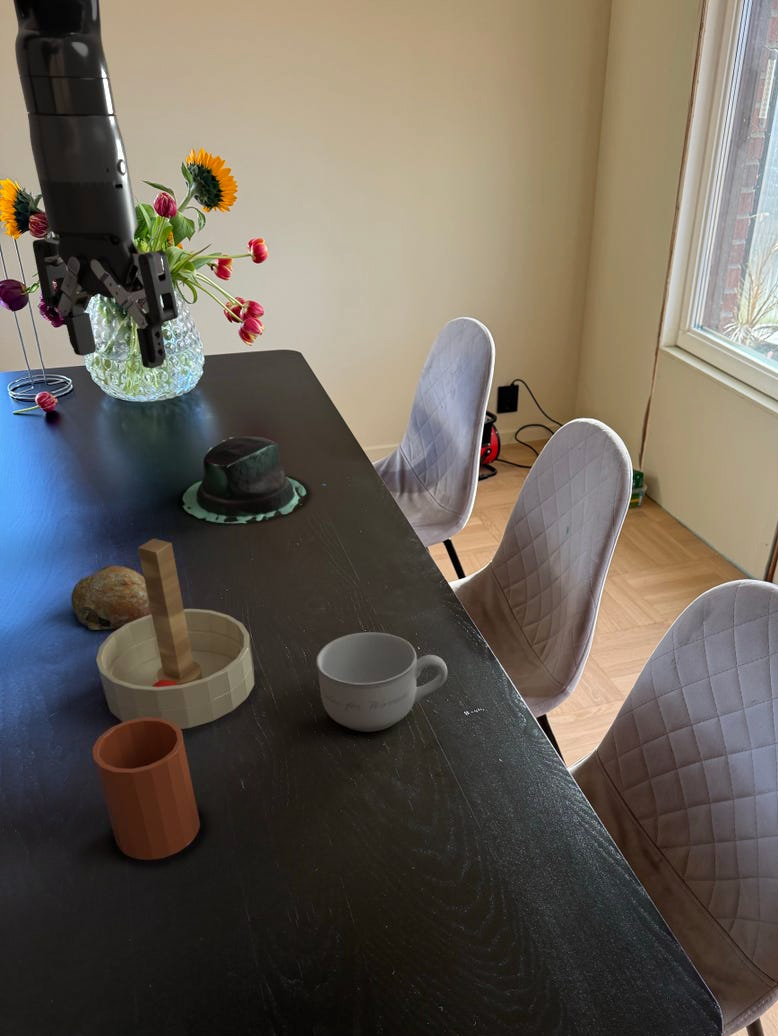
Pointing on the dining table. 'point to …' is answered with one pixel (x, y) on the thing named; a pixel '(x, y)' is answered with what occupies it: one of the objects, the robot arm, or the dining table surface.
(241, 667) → the bowl
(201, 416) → the dining table surface
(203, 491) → the dark fedora hat
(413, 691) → the teacup
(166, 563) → the wooden pestle
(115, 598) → the bread roll
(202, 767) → the dining table surface
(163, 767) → the crock
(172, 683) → the tomato
